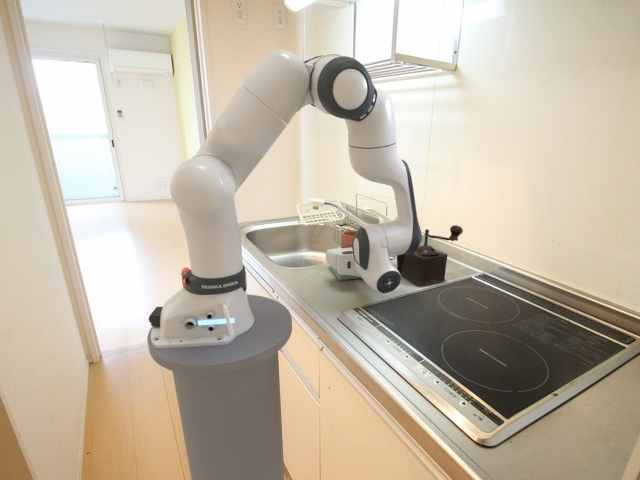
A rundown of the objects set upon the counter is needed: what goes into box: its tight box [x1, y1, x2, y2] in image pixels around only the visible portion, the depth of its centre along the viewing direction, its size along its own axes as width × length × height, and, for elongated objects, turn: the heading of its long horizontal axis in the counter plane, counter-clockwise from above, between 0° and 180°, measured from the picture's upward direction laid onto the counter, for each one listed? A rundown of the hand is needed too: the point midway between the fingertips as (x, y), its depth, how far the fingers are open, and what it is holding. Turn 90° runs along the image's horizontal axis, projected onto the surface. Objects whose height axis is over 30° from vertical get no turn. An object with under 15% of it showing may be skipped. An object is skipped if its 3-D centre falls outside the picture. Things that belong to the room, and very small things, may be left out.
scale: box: [329, 265, 362, 281], centre depth 121 cm, size 11×11×3 cm
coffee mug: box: [396, 242, 424, 275], centre depth 122 cm, size 12×9×10 cm
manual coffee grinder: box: [400, 224, 464, 287], centre depth 116 cm, size 16×11×18 cm
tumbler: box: [341, 230, 357, 248], centre depth 119 cm, size 6×6×11 cm
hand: (350, 247), depth 119 cm, fingers closed on tumbler, 6 cm apart
